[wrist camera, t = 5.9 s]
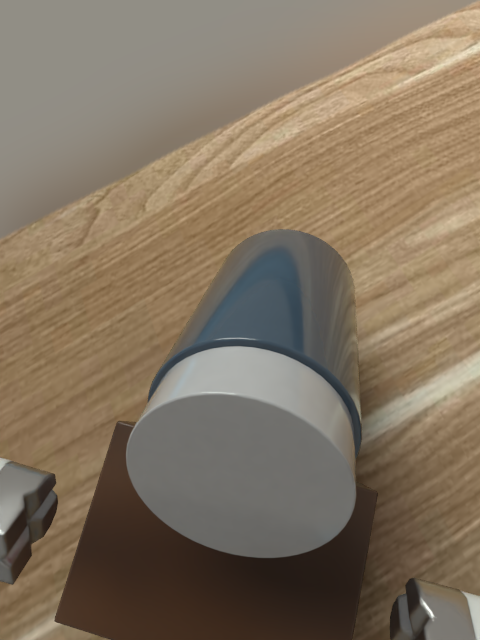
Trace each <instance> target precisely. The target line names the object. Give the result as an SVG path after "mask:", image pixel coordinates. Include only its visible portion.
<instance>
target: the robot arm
mask: <svg viewBox="0 0 480 640" xmlns="http://www.w3.org/2000/svg"><path fill="white" fill-rule="evenodd" d="M55 484H56V479H55V474H53V473H50V472H46V471H43V470H40V469H36V468H33V467H29V466H26V465H23V464H19V463H16V462H14V461H11V460H7V459H3V458H0V581H2V582H5V583H9V584H14V582H15V581H16V579H17V578H18V576H19V574H20V573H21V571H22V570H23V568H24V567H25V565H26V564H27V562H28V560H29V559H30V557H31V556H32V552H31V544H32V543H34V542H36V541H37V540H39V539H41V538H42V537H44V535H45V533H46V532H47V530H48V529H49V527H50V525H51V523H52V521H53V518H54V516H55V513H56V510H57V504H58V499H57V495H56V494H55V492H54V491H53V490H52V489H53V487H54V486H55ZM390 639H391V640H480V596H477V595H474V594H470V593H467V592H463V591H460V590H458V589H454V588H451V587H447V586H443V585H439V584H436V583H432V582H428V581H425V580H421V579H417V578H412V579H410V580H409V581H408V582H407V584H406V594H403V595H400V596H398V597H397V599H396V601H395V602H394V604H393V607H392V612H391V616H390Z"/></svg>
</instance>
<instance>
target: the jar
mask: <svg viewBox="0 0 480 640" xmlns="http://www.w3.org/2000/svg"><path fill="white" fill-rule="evenodd" d="M361 440H362V424H361V404H360V384H359V364H358V344H357V324H356V304H355V287H354V282H353V278H352V275H351V272H350V270H349V268H348V266H347V264H346V263H345V261H344V260H343V259H342V257H341V256H340V255H339V254H338V253H337V252H336V251H335V249H333V248H332V247H331V246H330V245H328V244H327V243H326V242H324V241H322V240H321V239H319V238H317V237H315V236H313V235H310V234H307V233H304V232H300V231H295V230H283V229H279V230H270V231H266V232H261V233H259V234H256V235H253V236H251V237H249V238H247V239H246V240H244V241H243V242H241V243H240V244H239V245H237V246H236V247H235V248H234V249H233V250H232V251H231V252H230V254H229V255H228V256H227V258H226V259H225V261H224V262H223V264H222V266H221V267H220V269H219V271H218V272H217V274H216V276H215V277H214V279H213V281H212V282H211V284H210V286H209V287H208V289H207V291H206V292H205V294H204V296H203V297H202V299H201V301H200V302H199V304H198V306H197V307H196V309H195V311H194V312H193V314H192V316H191V317H190V319H189V321H188V322H187V324H186V326H185V327H184V329H183V331H182V332H181V334H180V336H179V337H178V339H177V341H176V342H175V344H174V346H173V347H172V349H171V351H170V352H169V354H168V356H167V357H166V359H165V361H164V362H163V364H162V366H161V367H160V369H159V371H158V372H157V374H156V376H155V378H154V380H153V381H152V384H151V387H150V390H149V396H148V404H147V406H146V407H145V409H144V411H143V412H142V414H141V416H140V418H139V419H138V421H137V423H136V425H135V426H134V428H133V430H132V432H131V434H130V436H129V439H128V442H127V449H126V465H127V469H128V474H129V477H130V479H131V482H132V484H133V486H134V488H135V490H136V492H137V494H138V495H139V497H140V498H141V499H142V501H143V502H144V503H145V505H146V506H147V507H148V508H149V509H150V510H151V511H152V512H153V513H154V514H155V515H156V516H157V517H158V518H159V519H160V520H161V521H163V522H164V523H165V524H167V525H168V526H169V527H171V528H172V529H173V530H175V531H177V532H178V533H180V534H181V535H183V536H185V537H187V538H189V539H191V540H193V541H195V542H197V543H199V544H202V545H204V546H206V547H209V548H212V549H215V550H218V551H221V552H225V553H229V554H233V555H239V556H245V557H254V558H280V557H288V556H294V555H299V554H302V553H306V552H309V551H312V550H314V549H316V548H319V547H321V546H322V545H324V544H326V543H328V542H329V541H331V540H332V539H333V538H334V537H336V536H337V535H338V534H339V533H340V532H341V531H342V530H343V528H344V527H345V526H346V524H347V523H348V521H349V519H350V518H351V516H352V513H353V510H354V507H355V502H356V463H355V460H356V459H357V456H358V453H359V450H360V447H361Z"/></svg>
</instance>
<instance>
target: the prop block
mask: <svg viewBox="0 0 480 640" xmlns="http://www.w3.org/2000/svg"><path fill="white" fill-rule="evenodd" d="M136 423H137V422H127V421H118V422H117V423H116V427H115V430H114V433H113V436H112V439H111V442H110V446H109V449H108V452H107V455H106V458H105V461H104V465H103V468H102V471H101V474H100V477H99V480H98V483H97V487H96V490H95V493H94V496H93V499H92V502H91V506H90V509H89V512H88V515H87V518H86V521H85V525H84V528H83V531H82V534H81V537H80V540H79V543H78V547H77V550H76V553H75V556H74V559H73V562H72V566H71V569H70V572H69V575H68V578H67V581H66V585H65V588H64V591H63V594H62V597H61V600H60V604H59V607H58V610H57V613H56V616H55V622H57V623H61V624H64V625H67V626H70V627H73V628H76V629H79V630H83V631H86V632H89V633H92V634H95V635H98V636H101V637H104V638H108V639H111V640H352V638H353V632H354V627H355V621H356V615H357V610H358V604H359V598H360V593H361V587H362V581H363V576H364V570H365V564H366V559H367V553H368V547H369V542H370V536H371V530H372V525H373V519H374V513H375V508H376V502H377V496H378V493H377V491H375V490H373V489H371V488H369V487H367V486H365V485H363V484H361V483H359V482H357V481H356V502H355V507H354V510H353V513H352V516H351V518H350V519H349V521H348V523H347V524H346V526H345V527H344V528H343V530H342V531H341V532H340V533H339V534H338V535H337V536H336V537H334V538H333V539H332V540H331V541H329V542H328V543H326V544H324V545H322V546H321V547H319V548H316V549H314V550H312V551H309V552H306V553H302V554H299V555H294V556H288V557H280V558H254V557H245V556H239V555H233V554H229V553H225V552H221V551H218V550H215V549H212V548H209V547H206V546H204V545H202V544H199V543H197V542H195V541H193V540H191V539H189V538H187V537H185V536H183V535H181V534H180V533H178V532H177V531H175V530H173V529H172V528H171V527H169V526H168V525H167V524H165V523H164V522H163V521H161V520H160V519H159V518H158V517H157V516H156V515H155V514H154V513H153V512H152V511H151V510H150V509H149V508H148V507H147V506H146V505H145V503H144V502H143V501H142V499H141V498H140V497H139V495H138V494H137V492H136V490H135V488H134V486H133V484H132V482H131V479H130V477H129V474H128V469H127V465H126V449H127V442H128V439H129V436H130V434H131V432H132V430H133V428H134V426H135V425H136Z"/></svg>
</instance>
